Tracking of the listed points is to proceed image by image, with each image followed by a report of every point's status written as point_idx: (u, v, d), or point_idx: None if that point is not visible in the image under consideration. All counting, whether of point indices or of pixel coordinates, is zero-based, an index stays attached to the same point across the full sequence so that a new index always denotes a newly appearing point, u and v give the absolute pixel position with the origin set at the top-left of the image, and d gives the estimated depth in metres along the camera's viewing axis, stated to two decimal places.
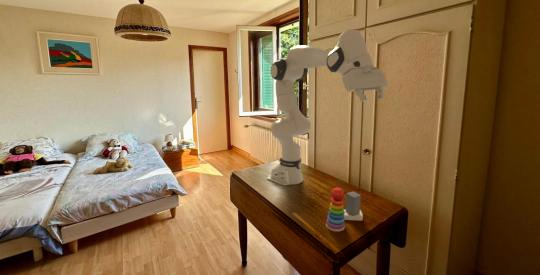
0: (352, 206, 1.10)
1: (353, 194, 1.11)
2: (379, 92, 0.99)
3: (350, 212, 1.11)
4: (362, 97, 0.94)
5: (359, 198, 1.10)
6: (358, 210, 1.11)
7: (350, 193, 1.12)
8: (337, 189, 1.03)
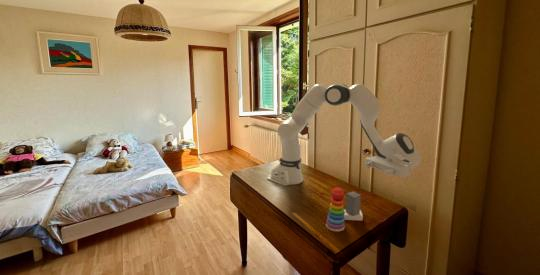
0: (352, 206, 1.10)
1: (353, 194, 1.11)
2: None
3: (350, 212, 1.11)
4: (386, 173, 1.10)
5: (359, 198, 1.10)
6: (358, 210, 1.11)
7: (350, 193, 1.12)
8: (337, 189, 1.03)
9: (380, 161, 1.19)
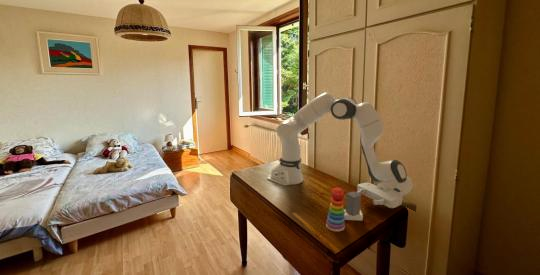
0: (352, 206, 1.10)
1: (353, 194, 1.11)
2: (360, 192, 1.21)
3: (350, 212, 1.11)
4: (377, 203, 1.12)
5: (359, 198, 1.10)
6: (358, 210, 1.11)
7: (350, 193, 1.12)
8: (337, 189, 1.03)
9: (371, 189, 1.20)
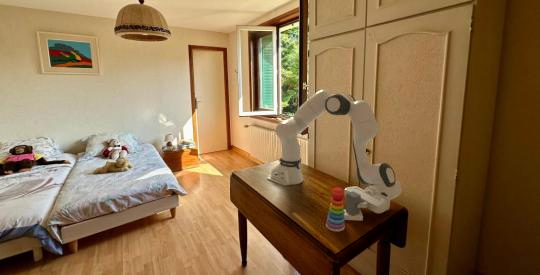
0: (352, 206, 1.10)
1: (352, 194, 1.11)
2: None
3: (350, 212, 1.11)
4: (359, 206, 1.09)
5: (359, 198, 1.10)
6: (358, 210, 1.11)
7: (350, 193, 1.12)
8: (337, 189, 1.03)
9: (358, 193, 1.16)
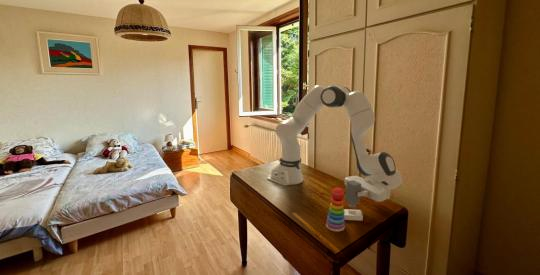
0: (352, 195, 1.09)
1: (353, 183, 1.09)
2: None
3: (350, 201, 1.10)
4: (360, 195, 1.08)
5: (359, 187, 1.09)
6: (358, 199, 1.10)
7: (350, 182, 1.10)
8: (337, 189, 1.03)
9: None
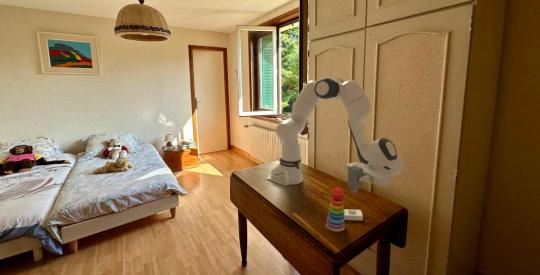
0: (354, 179, 1.07)
1: (354, 167, 1.08)
2: None
3: (352, 186, 1.08)
4: (362, 180, 1.06)
5: (361, 171, 1.07)
6: (360, 184, 1.08)
7: (352, 167, 1.09)
8: (337, 189, 1.03)
9: None
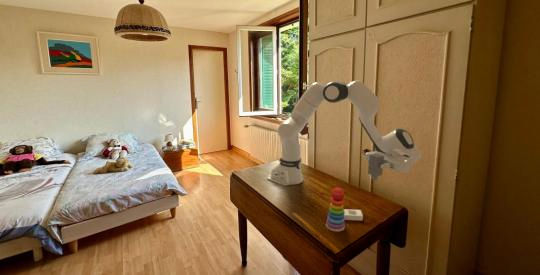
0: (375, 167, 1.12)
1: (376, 155, 1.13)
2: None
3: (373, 173, 1.13)
4: (383, 167, 1.11)
5: (382, 159, 1.12)
6: (381, 171, 1.13)
7: (373, 154, 1.14)
8: (337, 189, 1.03)
9: None
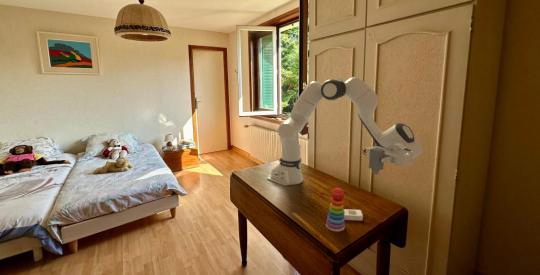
0: (376, 161, 1.11)
1: (376, 149, 1.12)
2: None
3: (374, 167, 1.13)
4: (384, 161, 1.10)
5: (383, 153, 1.11)
6: (382, 165, 1.13)
7: (374, 149, 1.13)
8: (337, 189, 1.03)
9: None
